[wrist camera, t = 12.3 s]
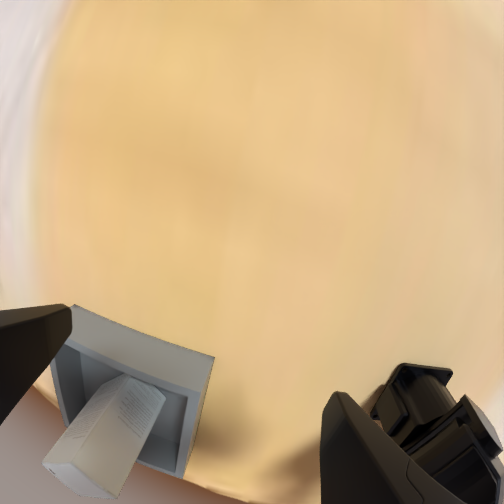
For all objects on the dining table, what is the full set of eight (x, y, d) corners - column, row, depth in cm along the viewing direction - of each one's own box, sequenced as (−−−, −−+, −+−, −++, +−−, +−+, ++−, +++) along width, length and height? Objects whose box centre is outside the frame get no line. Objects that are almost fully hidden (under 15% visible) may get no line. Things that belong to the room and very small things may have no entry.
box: (214, 357, 22) (201, 392, 17) (192, 448, 25) (182, 478, 21) (74, 304, 22) (44, 324, 18) (83, 402, 26) (64, 426, 21)
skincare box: (130, 412, 24) (78, 496, 12) (102, 382, 24) (38, 462, 12) (169, 398, 23) (118, 501, 11) (138, 364, 22) (67, 462, 11)
